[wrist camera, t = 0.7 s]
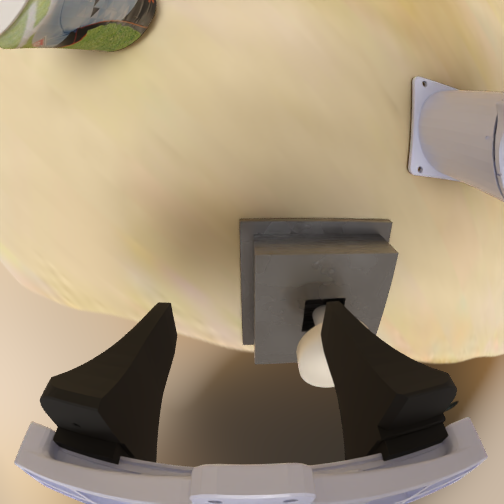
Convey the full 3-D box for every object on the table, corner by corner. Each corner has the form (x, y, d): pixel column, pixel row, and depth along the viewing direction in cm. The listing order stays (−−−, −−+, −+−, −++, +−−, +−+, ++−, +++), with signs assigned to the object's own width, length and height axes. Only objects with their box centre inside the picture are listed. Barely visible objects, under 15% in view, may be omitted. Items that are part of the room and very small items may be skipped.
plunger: (360, 283, 20) (386, 329, 15) (347, 335, 22) (366, 382, 17) (291, 286, 20) (304, 336, 15) (287, 340, 22) (295, 390, 17)
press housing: (389, 219, 22) (412, 239, 18) (363, 333, 27) (375, 361, 23) (239, 218, 21) (238, 240, 18) (243, 340, 27) (242, 371, 23)
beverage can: (178, 12, 14) (113, -73, 3) (104, 82, 16) (-14, 71, 5) (130, -25, 12) (54, -94, 1) (64, 41, 14) (-44, 20, 3)
